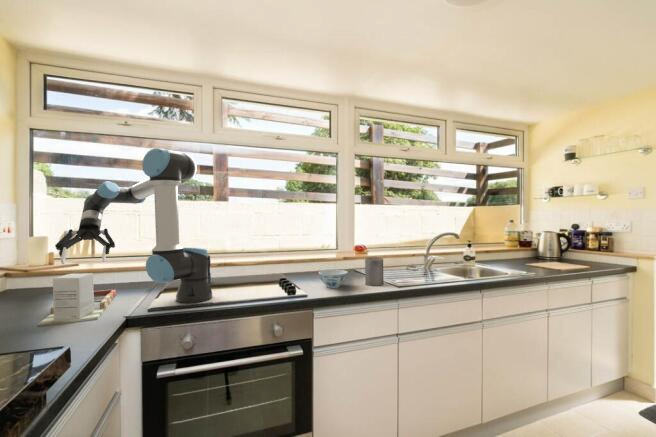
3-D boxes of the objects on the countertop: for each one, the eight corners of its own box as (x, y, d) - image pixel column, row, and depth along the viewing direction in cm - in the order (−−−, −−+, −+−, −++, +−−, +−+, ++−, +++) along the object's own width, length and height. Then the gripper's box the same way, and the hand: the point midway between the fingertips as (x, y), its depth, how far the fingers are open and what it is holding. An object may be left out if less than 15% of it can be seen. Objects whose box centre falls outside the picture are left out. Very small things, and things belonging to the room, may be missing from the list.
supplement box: (70, 312, 126) (69, 273, 125) (94, 311, 126) (94, 272, 126) (52, 319, 116) (51, 278, 116) (79, 318, 117) (78, 277, 117)
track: (72, 298, 149) (72, 291, 149) (116, 294, 156) (116, 288, 156) (38, 326, 112) (38, 317, 112) (97, 319, 119) (97, 311, 119)
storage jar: (199, 286, 171) (198, 258, 171) (187, 284, 176) (187, 256, 176) (214, 282, 180) (214, 255, 179) (203, 281, 185) (202, 254, 185)
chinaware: (352, 285, 171) (352, 270, 171) (338, 291, 159) (338, 275, 159) (328, 282, 179) (328, 268, 179) (312, 287, 167) (312, 272, 167)
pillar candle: (370, 281, 181) (370, 254, 181) (386, 283, 175) (386, 255, 175) (361, 284, 173) (361, 256, 173) (378, 287, 168) (378, 258, 167)
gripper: (124, 227, 153) (120, 264, 140) (57, 229, 143) (46, 268, 129) (122, 216, 148) (118, 253, 135) (53, 217, 138) (41, 257, 124)
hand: (83, 260), depth 132 cm, fingers open, 13 cm apart
